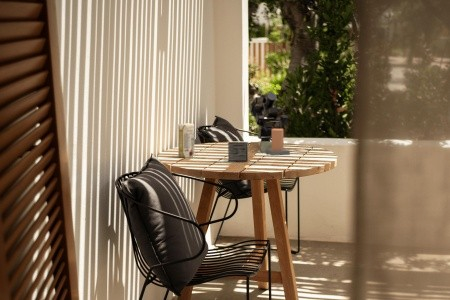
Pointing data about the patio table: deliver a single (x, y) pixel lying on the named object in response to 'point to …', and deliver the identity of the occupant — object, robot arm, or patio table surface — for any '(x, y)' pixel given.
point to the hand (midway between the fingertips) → (274, 130)
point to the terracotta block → (277, 139)
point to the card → (299, 150)
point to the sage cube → (264, 146)
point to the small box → (237, 151)
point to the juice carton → (186, 140)
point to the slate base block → (278, 152)
